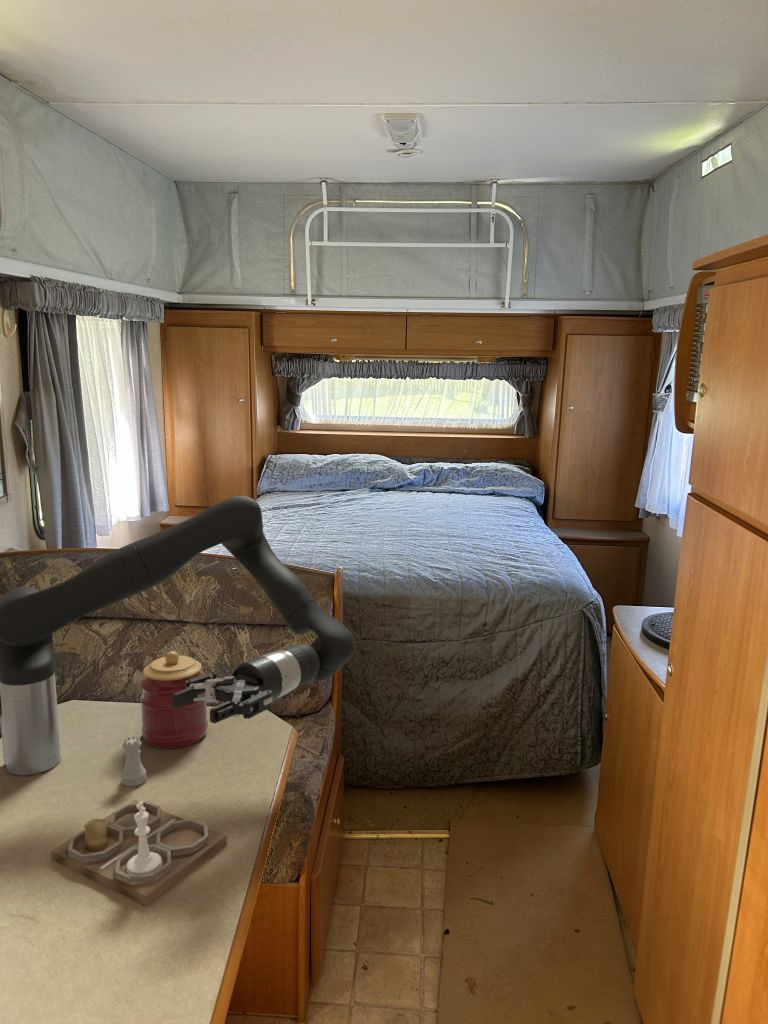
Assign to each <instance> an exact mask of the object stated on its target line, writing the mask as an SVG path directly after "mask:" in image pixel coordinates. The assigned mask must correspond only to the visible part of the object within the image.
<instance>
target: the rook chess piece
mask: <svg viewBox="0 0 768 1024" xmlns="http://www.w3.org/2000/svg"><path fill="white" fill-rule="evenodd" d="M123 742H124V743H122V746H121V747H122V748H123V749H124V751H125V752H124V753H123V755H124V756H125V762H124V767H123V770H122V771H121V774H120V778H121V779H120V783H121V784H122V785H123V786H124V787H127V788H133V787H134V788H135V787H138V786H141V785H143V784H144V783H145V781H146V780H147V778H148V777H147V771H146V770H147V769H146V768H144V765H143V764H142V761H141V755H140V754H141V752H142V750H141V749H140V747H141V746H142V744H143V743H142V741H141V740H140V737H139V736H135V735H132V738H131V736H128V737H126V738H125V739H124V740H123Z"/></svg>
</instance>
